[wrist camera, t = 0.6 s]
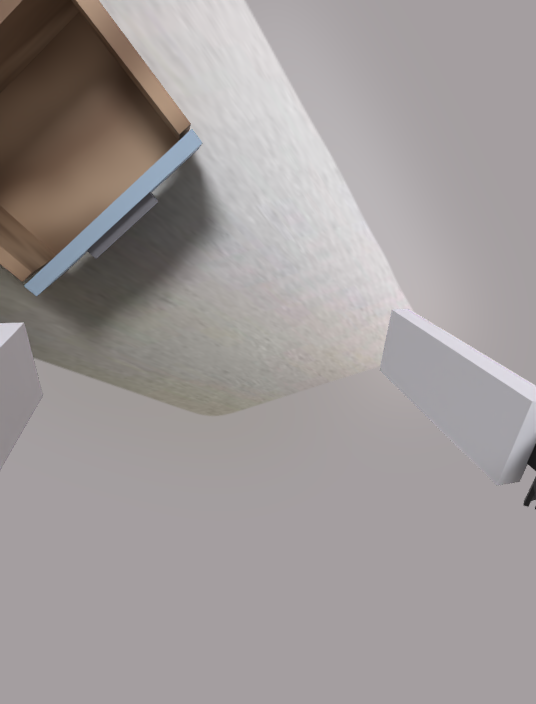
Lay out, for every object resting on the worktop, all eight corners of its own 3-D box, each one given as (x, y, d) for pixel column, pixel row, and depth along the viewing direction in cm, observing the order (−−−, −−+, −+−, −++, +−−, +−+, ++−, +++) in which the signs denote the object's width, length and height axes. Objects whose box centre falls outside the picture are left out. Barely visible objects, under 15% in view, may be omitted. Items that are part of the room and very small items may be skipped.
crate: (-69, 151, 28) (-146, 144, 21) (82, -6, 26) (48, -67, 19) (53, 260, 33) (22, 281, 26) (188, 134, 31) (190, 123, 24)
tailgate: (52, 265, 31) (23, 285, 26) (189, 137, 30) (191, 128, 24) (70, 281, 32) (46, 304, 26) (205, 157, 30) (210, 153, 25)
